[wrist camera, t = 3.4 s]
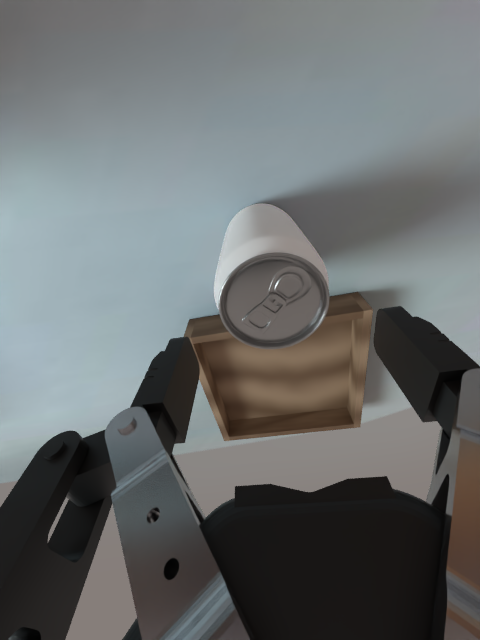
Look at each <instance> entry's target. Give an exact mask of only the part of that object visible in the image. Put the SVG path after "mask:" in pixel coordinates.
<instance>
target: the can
mask: <svg viewBox="0 0 480 640" xmlns="http://www.w3.org/2000/svg"><path fill="white" fill-rule="evenodd" d="M328 288H329V280H328V274H327V270H326V267H325V265H324V262H323V260H322V259H321V257H320V256H319V254H318V252H317V251H316V250H315V248H314V247H313V246H312V244H311V243H310V242H309V240H308V239H307V238H306V236H305V235H304V234H303V232H302V231H301V230H300V228H299V227H298V226H297V225H296V223H295V222H294V221H293V220H292V218H291V217H290V216H289V215H288V214H287V213H286V212H285V211H283V210H282V209H280V208H278V207H276V206H274V205H270V204H264V203H260V204H254V205H250V206H248V207H246V208H244V209H242V210H241V211H239V212H238V213H237V214H236V215H235V216H234V217H233V219H232V220H231V222H230V223H229V225H228V228H227V230H226V234H225V237H224V241H223V245H222V249H221V253H220V257H219V262H218V266H217V270H216V275H215V281H214V297H215V302H216V305H217V308H218V310H219V314H220V317H221V320H222V322H223V324H224V326H225V327H226V329H227V330H228V331H229V333H230V334H231V335H232V336H234V337H235V338H236V339H237V340H239V341H241V342H242V343H244V344H246V345H249V346H252V347H255V348H260V349H281V348H286V347H289V346H292V345H295V344H297V343H299V342H301V341H303V340H305V339H306V338H308V337H309V336H310V335H311V334H313V333H314V332H315V331H316V330H317V329H318V327H319V326H320V325H321V323H322V322H323V320H324V318H325V316H326V314H327V311H328V307H329V289H328Z"/></svg>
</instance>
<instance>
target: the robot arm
mask: <svg viewBox="0 0 480 640" xmlns="http://www.w3.org/2000/svg"><path fill="white" fill-rule="evenodd" d="M374 347H375V350H376V353H377V354H378V356H379V357H380V359H381V360H382V362H383V363H384V365H385V366H386V368H387V369H388V371H389V372H390V374H391V375H392V377H393V378H394V380H395V381H396V383H397V384H398V386H399V387H400V389H401V390H402V392H403V393H404V395H405V396H406V398H407V399H408V401H409V402H410V404H411V405H412V407H413V408H414V410H415V411H416V413H417V414H418V415H419V417H420V419H421V420H422V421H423V422H432V421H438V423H439V424H440V426H441V427H442V428H441V430H440V434H439V440H438V446H437V451H436V458H435V463H434V470H433V475H432V481H431V485H430V489H429V492H428V495H427V499H426V502H425V501H423V500H421V499H420V498H417V497H415V496H413V495H410V494H408V493H405V492H402V491H399V490H395V489H392V487H391V485H390V482H389V480H388V478H387V476H385V477H371V478H355V479H346V480H344V481H341V482H338V483H336V484H333V485H330V486H328V487H325V488H322V489H320V490H317V491H315V492H303V491H299V490H294V489H290V488H286V487H281V486H276V485H272V484H264V485H250V486H236V487H235V498H234V499H231V500H229V501H227V502H225V503H223V504H222V505H220V506H219V507H218V508H216V509H215V510H214V511H213V512H211V513H210V514H209V515H208V516H207V517H205V515H204V513H203V511H202V510H201V508H200V506H199V504H198V503H197V501H196V499H195V497H194V495H193V493H192V491H191V489H190V487H189V485H188V483H187V481H186V479H185V477H184V475H183V473H182V471H181V469H180V467H179V465H178V463H177V461H176V460H175V458H174V455H173V454H172V451H173V447H174V444H176V443H185V439H186V435H187V430H188V425H189V421H190V416H191V412H192V407H193V403H194V398H195V394H196V389H197V384H198V380H199V375H200V368H199V362H198V360H197V357H196V354H195V352H194V349H193V346H192V344H191V341H190V339H189V337H180V338H173V339H170V340H169V343H168V345H167V347H166V350H165V351H161V352H160V353H159V354H158V355H157V356H156V357H155V358H154V359H153V360H152V362H151V364H150V366H149V368H148V371H147V373H146V375H145V379H143V381H142V383H141V385H140V388H139V390H138V392H137V394H136V396H135V398H134V400H133V402H132V405H131V407H130V408H128V409H125V410H123V411H122V412H120V413H119V414H117V415H116V416H115V417H114V418H113V419H112V420H111V421H110V423H109V424H108V426H107V428H106V429H105V430H103V431H100V432H98V433H95V434H93V435H90V436H88V437H85V438H82V437H81V436H80V435H79V434H78V433H77V432H75V431H66V432H63V433H60V434H58V435H56V436H55V437H53V438H52V439H50V440H49V441H48V442H46V443H45V444H44V445H43V446H42V447H41V448H40V449H39V451H38V452H37V453H36V455H35V456H34V458H33V459H32V461H31V462H30V464H29V465H28V467H27V468H26V470H25V471H24V473H23V474H22V476H21V477H20V479H19V480H18V482H17V483H16V485H15V486H14V488H13V489H12V491H11V492H10V494H9V495H8V497H7V498H6V500H5V501H4V503H3V504H2V506H1V507H0V640H65V638H66V636H67V633H68V630H69V627H70V624H71V621H72V618H73V615H74V613H75V610H76V607H77V604H78V601H79V598H80V595H81V592H82V589H83V587H84V583H85V580H86V578H87V575H88V572H89V569H90V566H91V563H92V560H93V557H94V554H95V552H96V549H97V546H98V543H99V540H100V537H101V534H102V531H103V528H104V526H105V522H106V520H107V517H108V514H109V511H110V508H111V505H112V504H113V508H114V513H115V517H116V522H117V527H118V531H119V535H120V541H121V545H122V550H123V554H124V559H125V564H126V568H127V573H128V577H129V582H130V586H131V591H132V595H133V600H134V605H135V609H136V614H137V619H136V620H135V622H134V623H133V625H132V626H131V628H130V629H129V630H128V632H127V633H126V635H125V637H124V638H123V639H122V640H480V366H479V365H478V364H477V363H476V362H474V361H473V360H472V359H471V358H470V357H469V356H468V355H467V354H465V353H464V352H463V351H462V350H461V349H460V348H459V347H458V346H456V345H455V344H454V343H453V342H452V341H449V339H448V338H447V337H446V336H445V335H444V334H441V331H439V330H438V329H437V328H436V327H435V326H434V325H433V324H432V323H430V322H428V321H426V320H424V319H421V318H419V317H412V316H411V315H410V314H409V313H408V312H407V311H406V310H405V309H404V308H402V307H401V306H398V307H391V308H384V309H379V310H378V312H377V317H376V325H375V333H374ZM66 497H67V498H68V499H69V500H68V503H67V505H66V507H65V509H64V511H63V513H62V515H61V517H60V519H59V521H58V524H57V526H56V528H55V530H54V532H53V534H52V536H51V538H50V540H49V542H48V543H47V540H48V534H49V531H50V528H51V526H52V524H53V522H54V520H55V518H56V516H57V514H58V512H59V510H60V507H61V506H62V504H63V502H64V500H65V498H66Z"/></svg>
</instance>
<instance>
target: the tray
mask: <svg viewBox="0 0 480 640" xmlns="http://www.w3.org/2000/svg"><path fill="white" fill-rule="evenodd" d="M372 314H373V309H372V308H371V307H370V306H369V304H368V303H367V302H366V301H365V300H364V298H363V297H362V296H361V295H360V294H359V293H358V292H355V293H349V294H343V295H337V296H331V297H329V307H328V311H327V314H326V316H325V318H324V320H323V322H322V323H321V325H320V326H319V327H318V329H317V330H316V331H315V332H314V333H313V334H311V335H310V336H309V337H308V338H306V339H305V340H303V341H301V342H299V343H297V344H295V345H292V346H289V347H286V348H281V349H260V348H255V347H252V346H249V345H246V344H244V343H242V342H241V341H239V340H237V339H236V338H235V337H234V336H232V335H231V334H230V333H229V331H228V330H227V329H226V327H225V326H224V324H223V322H222V320H221V317H220V315H214V316H208V317H202V318H196V319H190V320H189V322H188V325H187V328H186V331H185V334H184V337H189V339H190V341H191V344H192V346H193V349H194V352H195V354H196V357H197V360H198V362H199V368H200V375H199V380H200V382H201V385H202V387H203V389H204V392H205V394H206V397H207V399H208V402H209V404H210V407H211V409H212V411H213V414H214V416H215V419H216V421H217V424H218V426H219V429H220V431H221V434H222V436H223V438H224V441H229V440H239V439H249V438H258V437H268V436H278V435H288V434H298V433H308V432H318V431H327V430H337V429H347V428H357V427H360V424H361V415H362V405H363V396H364V387H365V378H366V369H367V360H368V350H369V341H370V332H371V323H372Z"/></svg>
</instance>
